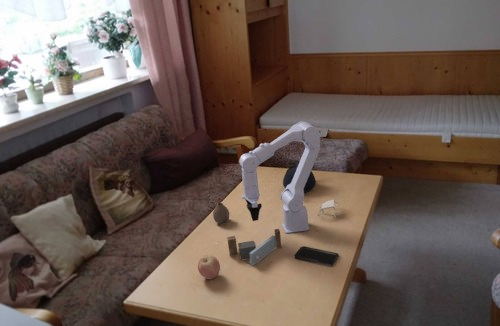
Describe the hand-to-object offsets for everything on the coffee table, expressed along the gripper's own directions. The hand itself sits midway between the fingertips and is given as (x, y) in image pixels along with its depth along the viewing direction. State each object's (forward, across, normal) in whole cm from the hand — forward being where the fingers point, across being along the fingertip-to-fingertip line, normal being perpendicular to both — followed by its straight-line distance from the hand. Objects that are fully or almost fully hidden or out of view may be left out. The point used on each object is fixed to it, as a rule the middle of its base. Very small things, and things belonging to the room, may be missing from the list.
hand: (253, 215), depth 181 cm
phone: (+10, +21, +19) cm, 30 cm away
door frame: (+9, +10, -2) cm, 14 cm away
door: (+9, +15, +1) cm, 18 cm away
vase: (+10, -16, -12) cm, 22 cm away
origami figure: (+10, -8, +34) cm, 36 cm away
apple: (+10, +22, -20) cm, 31 cm away
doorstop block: (+10, +13, -5) cm, 17 cm away
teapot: (+10, -37, +28) cm, 47 cm away
